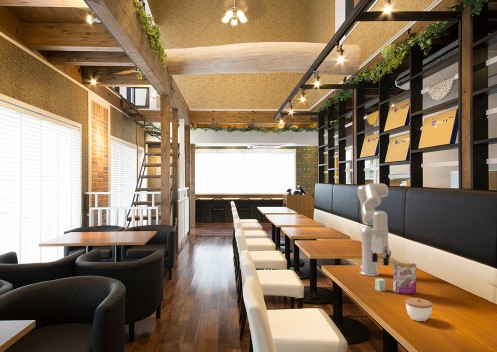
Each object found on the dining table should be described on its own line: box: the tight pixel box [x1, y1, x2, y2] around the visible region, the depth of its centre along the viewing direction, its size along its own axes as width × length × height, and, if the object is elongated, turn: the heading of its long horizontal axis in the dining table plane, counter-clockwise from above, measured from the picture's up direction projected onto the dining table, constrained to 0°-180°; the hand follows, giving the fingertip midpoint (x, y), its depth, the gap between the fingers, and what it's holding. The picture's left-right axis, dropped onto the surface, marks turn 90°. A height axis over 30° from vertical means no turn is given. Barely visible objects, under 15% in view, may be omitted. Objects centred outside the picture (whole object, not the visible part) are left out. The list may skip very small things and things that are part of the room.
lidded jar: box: [405, 297, 433, 322], centre depth 157 cm, size 11×11×9 cm
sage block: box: [374, 278, 387, 292], centre depth 200 cm, size 4×4×6 cm
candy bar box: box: [392, 261, 417, 295], centre depth 195 cm, size 11×5×16 cm, turn 84°
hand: (380, 263), depth 199 cm, fingers open, 9 cm apart
